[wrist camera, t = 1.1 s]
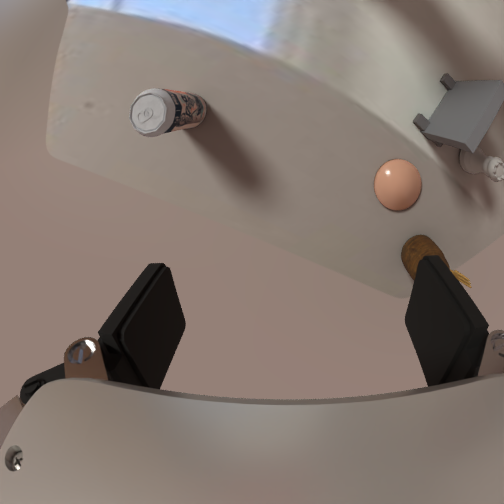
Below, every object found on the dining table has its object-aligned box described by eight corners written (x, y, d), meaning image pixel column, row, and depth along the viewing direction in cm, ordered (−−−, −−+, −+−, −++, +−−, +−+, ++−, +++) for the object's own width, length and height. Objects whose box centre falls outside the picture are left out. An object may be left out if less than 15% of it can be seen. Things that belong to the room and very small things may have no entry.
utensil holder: (393, 247, 38) (423, 295, 27) (427, 224, 35) (466, 266, 25) (407, 274, 40) (435, 325, 29) (439, 253, 37) (474, 299, 27)
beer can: (213, 117, 33) (179, 122, 22) (182, 134, 34) (138, 147, 24) (197, 86, 31) (157, 78, 20) (166, 104, 32) (117, 106, 22)
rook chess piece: (453, 152, 30) (485, 164, 23) (472, 137, 28) (505, 147, 21) (464, 177, 31) (495, 195, 24) (482, 163, 29) (514, 177, 22)
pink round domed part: (393, 148, 31) (395, 148, 31) (428, 180, 32) (430, 181, 32) (363, 188, 35) (364, 190, 34) (399, 218, 36) (400, 219, 35)
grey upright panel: (444, 72, 25) (492, 67, 15) (468, 97, 26) (516, 102, 16) (411, 123, 29) (454, 131, 20) (436, 147, 30) (481, 164, 20)
